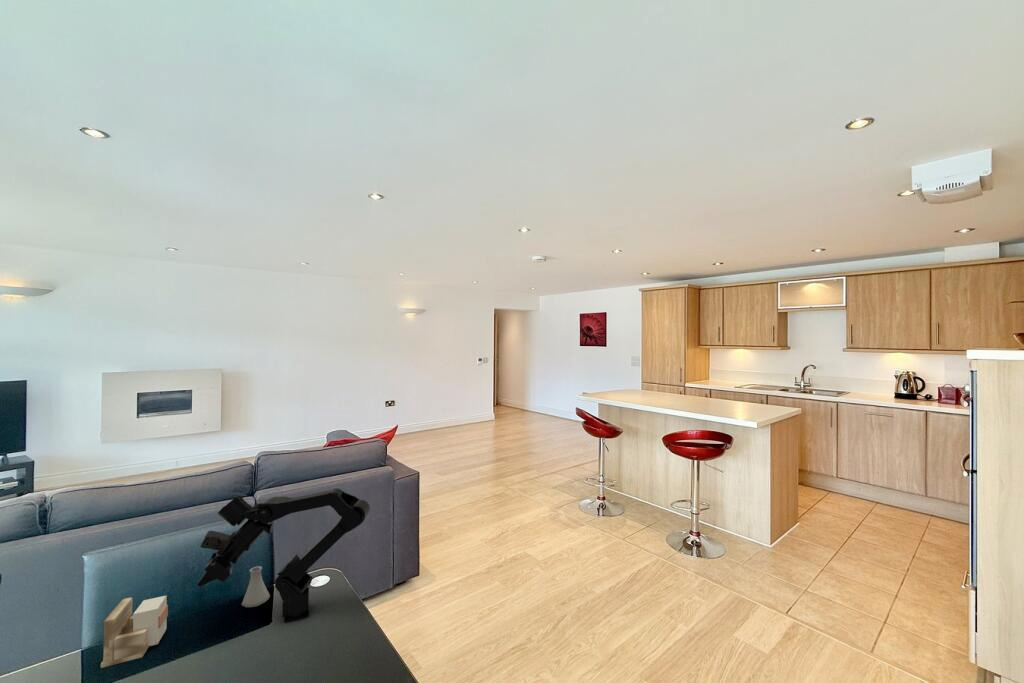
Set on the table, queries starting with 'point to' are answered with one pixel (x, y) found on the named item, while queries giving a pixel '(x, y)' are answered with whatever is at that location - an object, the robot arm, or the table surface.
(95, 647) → the table surface
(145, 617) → the white box
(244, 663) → the table surface
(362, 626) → the table surface
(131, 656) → the beige toy armchair
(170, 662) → the table surface
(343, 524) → the robot arm
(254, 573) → the flask
